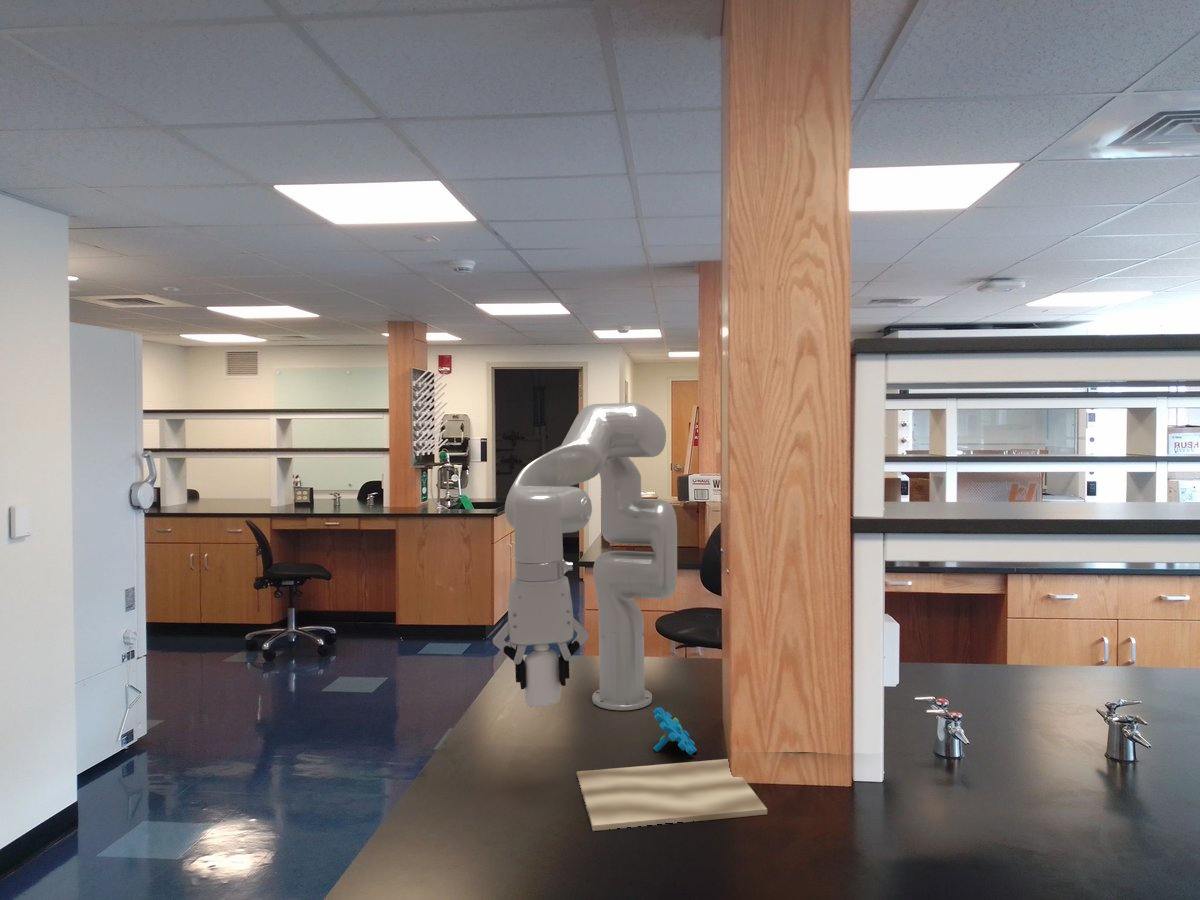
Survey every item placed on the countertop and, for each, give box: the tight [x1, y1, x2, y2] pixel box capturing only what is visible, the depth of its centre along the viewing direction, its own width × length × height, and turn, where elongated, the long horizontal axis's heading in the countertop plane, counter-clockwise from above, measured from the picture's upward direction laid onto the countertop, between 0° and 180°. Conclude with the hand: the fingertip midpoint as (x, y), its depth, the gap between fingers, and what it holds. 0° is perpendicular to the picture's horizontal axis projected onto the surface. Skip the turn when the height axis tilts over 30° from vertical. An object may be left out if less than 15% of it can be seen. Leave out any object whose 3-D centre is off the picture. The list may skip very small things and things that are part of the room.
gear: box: [652, 706, 697, 756], centre depth 139 cm, size 11×6×10 cm
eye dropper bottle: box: [524, 644, 562, 709], centre depth 123 cm, size 4×6×12 cm
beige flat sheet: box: [576, 758, 768, 832], centre depth 122 cm, size 18×26×1 cm
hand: (542, 683), depth 123 cm, fingers closed on eye dropper bottle, 5 cm apart
